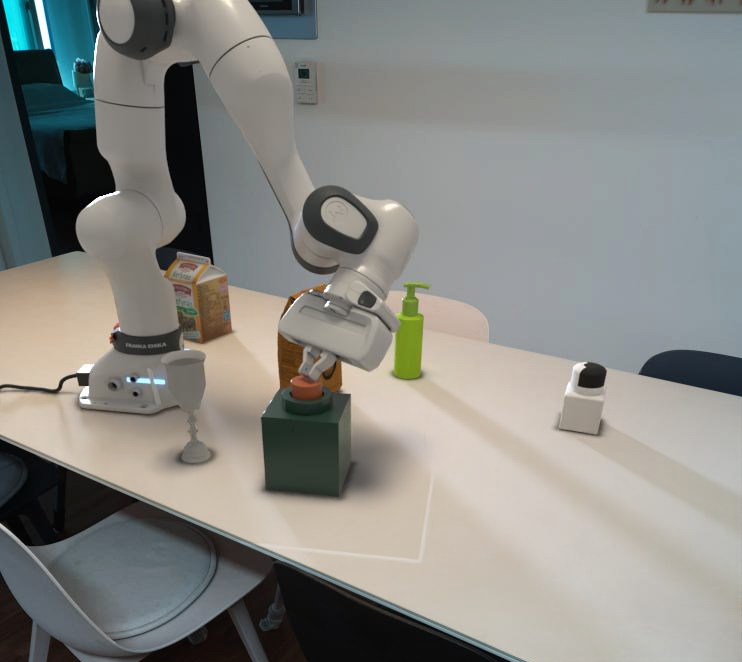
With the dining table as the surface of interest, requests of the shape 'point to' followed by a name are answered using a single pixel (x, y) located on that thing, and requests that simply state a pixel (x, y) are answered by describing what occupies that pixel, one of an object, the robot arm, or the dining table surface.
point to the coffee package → (293, 356)
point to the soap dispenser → (409, 335)
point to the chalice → (188, 394)
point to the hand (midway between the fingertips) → (306, 376)
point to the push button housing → (307, 443)
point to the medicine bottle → (584, 398)
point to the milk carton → (200, 297)
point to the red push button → (306, 388)
